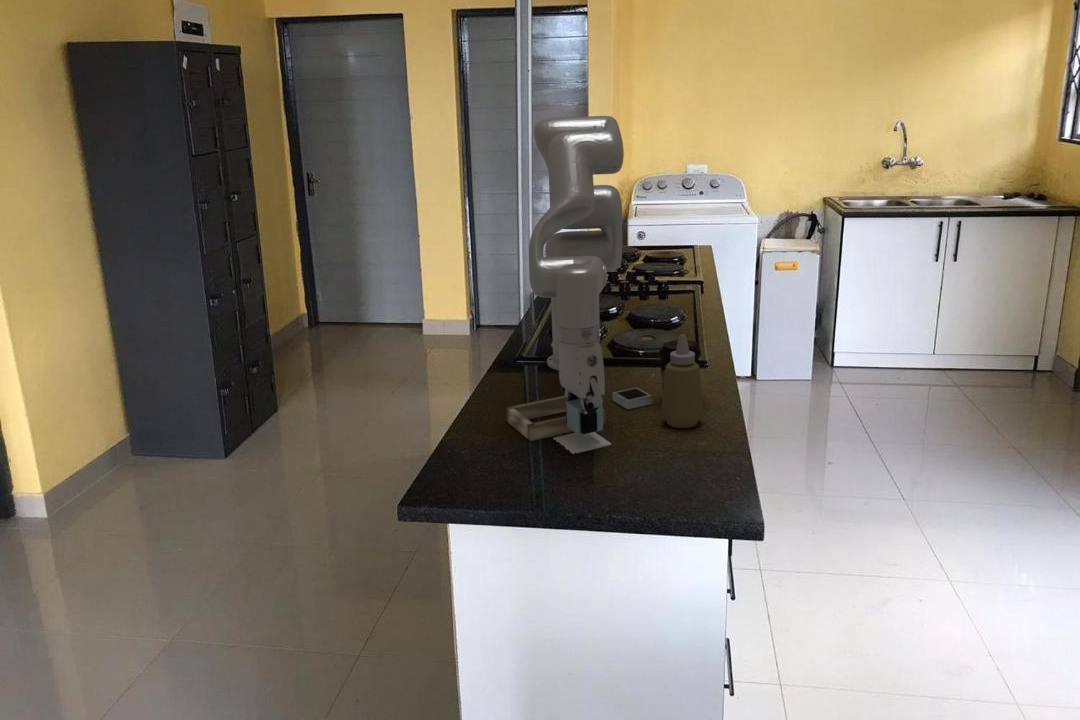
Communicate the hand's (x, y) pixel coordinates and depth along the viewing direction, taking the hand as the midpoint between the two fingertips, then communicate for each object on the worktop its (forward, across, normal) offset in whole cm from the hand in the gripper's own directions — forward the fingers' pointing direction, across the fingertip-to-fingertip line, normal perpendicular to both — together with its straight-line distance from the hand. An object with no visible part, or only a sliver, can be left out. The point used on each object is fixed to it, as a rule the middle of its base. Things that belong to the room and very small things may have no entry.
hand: (581, 426), depth 161 cm
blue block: (+1, 0, -1) cm, 1 cm away
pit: (+3, +13, -18) cm, 23 cm away
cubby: (+3, +11, 0) cm, 12 cm away
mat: (+3, 0, 0) cm, 3 cm away
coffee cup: (+3, +7, -26) cm, 28 cm away
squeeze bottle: (+3, -2, -21) cm, 21 cm away
